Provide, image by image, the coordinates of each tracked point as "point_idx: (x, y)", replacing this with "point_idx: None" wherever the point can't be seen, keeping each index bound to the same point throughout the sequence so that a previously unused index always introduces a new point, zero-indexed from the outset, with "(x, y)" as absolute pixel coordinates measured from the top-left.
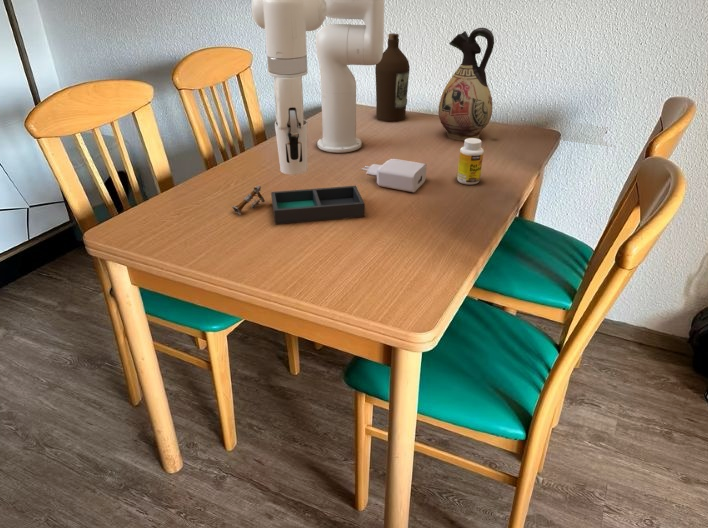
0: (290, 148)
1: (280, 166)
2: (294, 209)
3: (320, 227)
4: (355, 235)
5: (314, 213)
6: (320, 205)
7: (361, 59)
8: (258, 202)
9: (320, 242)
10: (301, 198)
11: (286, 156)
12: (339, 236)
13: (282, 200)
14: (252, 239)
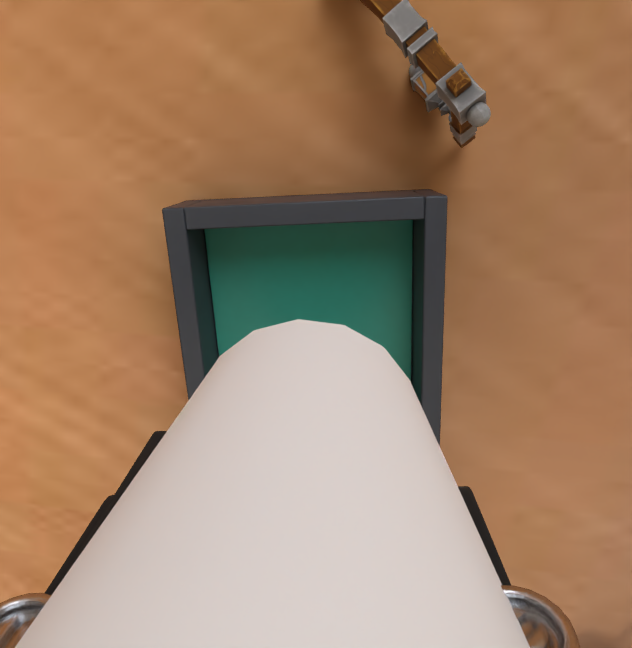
0: (55, 582)
1: (276, 337)
2: (178, 321)
3: (144, 403)
4: (68, 520)
5: None
6: None
7: None
8: (437, 106)
9: (3, 389)
10: (414, 355)
11: (137, 461)
12: (59, 465)
13: (414, 253)
14: (18, 73)
